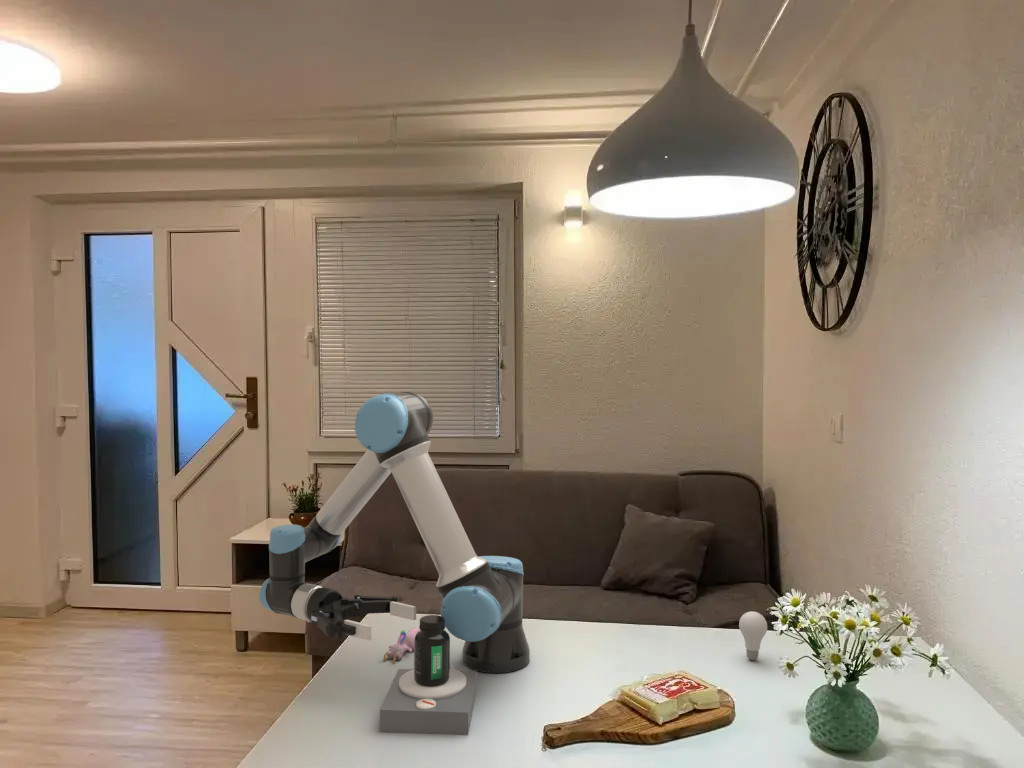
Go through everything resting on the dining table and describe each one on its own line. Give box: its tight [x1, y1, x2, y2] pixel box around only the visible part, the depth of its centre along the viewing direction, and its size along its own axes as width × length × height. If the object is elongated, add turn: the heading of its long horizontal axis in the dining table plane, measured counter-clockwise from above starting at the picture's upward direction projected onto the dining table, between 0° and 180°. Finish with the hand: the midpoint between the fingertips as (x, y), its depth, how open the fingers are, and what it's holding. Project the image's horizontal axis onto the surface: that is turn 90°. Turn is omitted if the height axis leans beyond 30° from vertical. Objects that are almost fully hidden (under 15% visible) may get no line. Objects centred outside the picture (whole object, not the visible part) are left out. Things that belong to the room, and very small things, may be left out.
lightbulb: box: [738, 610, 768, 661], centre depth 171 cm, size 6×6×11 cm
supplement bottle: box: [413, 614, 451, 687], centre depth 147 cm, size 7×7×12 cm
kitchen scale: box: [379, 667, 478, 735], centre depth 145 cm, size 18×16×5 cm
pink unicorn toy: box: [383, 627, 421, 664], centre depth 174 cm, size 6×6×15 cm
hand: (393, 622), depth 152 cm, fingers open, 13 cm apart
